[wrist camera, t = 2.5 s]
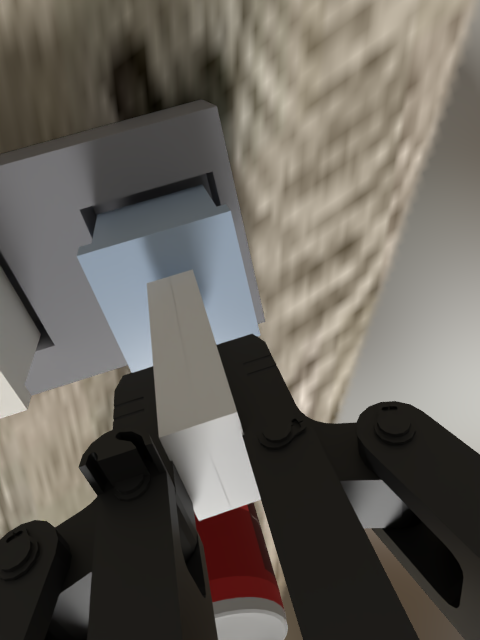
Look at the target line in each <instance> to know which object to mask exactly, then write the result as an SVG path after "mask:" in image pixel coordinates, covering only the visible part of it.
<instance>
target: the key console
mask: <svg viewBox="0 0 480 640" xmlns="http://www.w3.org/2000/svg"><path fill="white" fill-rule="evenodd" d="M201 184H202V185H203V186H204V188H205V189H206V191H207V193H208V194H209V196H210V197H211V199H212V200H213V202H214V204H215V205H216V207H217V206H221V205H224V204H226V205H227V206H228V208H229V209H230V210H231V214H232V218H233V222H234V227H235V231H236V235H237V239H238V243H239V248H240V252H241V256H242V260H243V264H244V269H245V273H246V277H247V281H248V286H249V290H250V294H251V298H252V302H253V307H254V311H255V315H256V319H257V323H258V324H259V323H263V322H265V318H264V314H263V309H262V305H261V300H260V296H259V291H258V287H257V282H256V278H255V274H254V269H253V265H252V260H251V256H250V251H249V247H248V242H247V238H246V234H245V229H244V225H243V220H242V216H241V211H240V207H239V202H238V198H237V193H236V189H235V185H234V180H233V176H232V171H231V167H230V162H229V158H228V153H227V149H226V144H225V140H224V136H223V131H222V127H221V122H220V118H219V113H218V109H217V106H216V105H213V104H211V103H209V102H207V101H204V100H202V99H201V100H197V101H193V102H190V103H186V104H182V105H179V106H175V107H171V108H168V109H164V110H160V111H157V112H153V113H149V114H146V115H142V116H138V117H135V118H131V119H127V120H124V121H120V122H116V123H113V124H109V125H105V126H102V127H98V128H94V129H91V130H87V131H83V132H80V133H76V134H72V135H69V136H65V137H61V138H58V139H54V140H50V141H47V142H43V143H39V144H36V145H32V146H28V147H25V148H21V149H17V150H14V151H10V152H6V153H3V154H0V266H1V267H2V269H3V271H4V273H5V274H6V276H7V278H8V279H9V281H10V283H11V284H12V286H13V288H14V290H15V291H16V293H17V295H18V296H19V298H20V300H21V301H22V303H23V305H24V307H25V308H26V310H27V312H28V313H29V315H30V317H31V318H32V320H33V322H34V323H35V325H36V327H37V329H38V330H39V332H40V334H41V336H40V339H39V342H38V345H37V348H36V351H35V354H34V357H33V360H32V363H31V366H30V369H29V372H28V376H27V379H26V382H25V387H26V388H27V390H28V391H29V393H30V394H31V396H32V395H35V394H38V393H41V392H44V391H47V390H51V389H54V388H57V387H60V386H63V385H66V384H70V383H73V382H76V381H79V380H82V379H85V378H89V377H92V376H95V375H98V374H101V373H104V372H108V371H111V370H114V369H117V368H120V367H123V366H127V365H128V364H127V362H126V360H125V358H124V355H123V353H122V351H121V349H120V347H119V345H118V343H117V341H116V338H115V336H114V334H113V332H112V330H111V328H110V326H109V324H108V322H107V319H106V317H105V315H104V313H103V311H102V309H101V307H100V305H99V303H98V300H97V298H96V296H95V294H94V292H93V290H92V288H91V286H90V283H89V281H88V279H87V277H86V275H85V273H84V271H83V269H82V267H81V264H80V262H79V260H78V258H77V253H78V249H79V247H81V246H84V245H88V244H91V243H92V239H93V234H94V229H95V224H96V219H97V214H101V213H104V212H108V211H111V210H115V209H118V208H122V207H125V206H129V205H132V204H135V203H139V202H142V201H146V200H149V199H153V198H156V197H160V196H163V195H167V194H170V193H174V192H177V191H181V190H184V189H188V188H191V187H194V186H198V185H201Z"/></svg>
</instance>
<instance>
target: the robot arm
mask: <svg viewBox="0 0 480 640" xmlns="http://www.w3.org/2000/svg"><path fill="white" fill-rule="evenodd" d="M147 294H148V307H149V319H150V332H151V345H152V357H153V366H152V367H149V368H146V369H143V370H140V371H136V372H133V373H130V374H127V375H124V376H123V377H122V379H121V380H120V382H119V384H118V386H117V388H116V389H115V394H114V407H115V409H114V416H113V419H114V421H113V430H112V431H109V432H107V433H105V434H103V435H102V436H101V437H99V438H98V439H97V440H96V441H94V442H93V443H92V444H91V445H90V446H89V448H88V449H87V450H86V452H85V453H84V454H83V456H82V459H81V462H80V465H79V469H80V470H81V472H82V473H83V475H84V476H85V478H86V479H87V481H88V482H89V484H90V485H91V487H92V488H93V490H94V491H95V493H96V494H97V498H96V499H95V500H94V501H93V502H92V503H91V504H90V505H88V506H87V507H86V508H84V509H83V510H82V511H80V512H79V513H77V514H76V515H74V516H73V517H71V518H69V519H68V520H66V521H65V522H63V523H62V524H60V525H58V526H57V527H53V526H52V525H51V524H50V523H48V522H47V521H38V520H34V521H31V522H28V523H24V524H21V525H20V526H18V527H16V528H15V529H13V530H12V531H10V532H8V533H7V534H6V535H5V536H4V537H3V538H2V539H1V540H0V640H218V635H217V629H216V623H215V616H214V610H213V603H212V597H211V591H210V584H209V578H208V572H207V565H206V559H205V553H204V546H203V544H202V541H201V539H200V536H199V534H198V532H197V530H196V523H195V516H194V512H195V514H196V516H197V518H198V520H199V521H200V520H203V519H206V518H209V517H212V516H215V515H218V514H220V513H223V512H226V511H229V510H232V509H235V508H238V507H241V506H244V505H247V504H249V503H252V502H255V501H258V500H261V501H262V504H263V507H264V511H265V514H266V517H267V521H268V524H269V527H270V531H271V534H272V537H273V541H274V544H275V547H276V551H277V554H278V557H279V561H280V564H281V567H282V571H283V574H284V577H285V581H286V584H287V587H288V591H289V594H290V597H291V601H292V603H293V607H294V611H295V614H296V617H297V621H298V624H299V627H300V630H301V634H302V637H303V640H419V638H418V636H417V634H416V632H415V630H414V628H413V626H412V624H411V622H410V620H409V618H408V616H407V614H406V612H405V610H404V608H403V606H402V604H401V602H400V600H399V598H398V596H397V594H396V592H395V590H394V588H393V586H392V584H391V582H390V580H389V578H388V576H387V574H386V572H385V571H384V568H383V566H382V564H381V562H380V560H379V558H378V556H377V554H376V552H375V550H374V548H373V546H372V544H371V542H370V540H369V539H368V536H367V534H366V532H365V530H364V528H372V530H373V531H374V532H375V533H376V535H377V536H378V537H379V538H380V539H381V541H382V542H383V543H384V544H385V545H386V546H387V548H388V549H389V550H390V551H391V552H392V554H393V555H394V556H395V557H396V558H397V559H398V561H399V562H400V563H401V564H402V565H403V567H404V568H405V569H406V570H407V571H408V573H409V574H410V575H411V576H412V577H413V578H414V580H415V581H416V582H417V583H418V584H419V586H420V587H421V588H422V589H423V590H424V591H425V593H426V594H427V595H428V596H429V597H430V599H431V600H432V601H433V602H434V603H435V605H436V606H437V607H438V608H439V609H440V611H441V612H442V613H443V614H444V615H445V616H446V618H447V619H448V620H449V621H450V622H451V624H452V625H453V626H454V627H455V628H456V629H457V631H458V632H459V633H460V634H461V635H462V637H463V638H464V639H465V640H480V454H478V453H477V452H476V451H474V450H473V449H471V448H470V447H469V446H468V445H466V444H465V443H464V442H462V441H461V440H460V439H458V438H457V437H456V436H455V435H453V434H452V433H451V432H449V431H448V430H446V429H445V428H444V427H442V426H441V425H440V424H439V423H437V422H436V421H434V420H433V419H432V418H431V417H429V416H428V415H427V414H425V413H424V412H423V411H421V410H419V409H417V408H415V407H414V406H412V405H410V404H405V403H401V402H396V401H392V402H380V403H378V404H375V405H372V406H370V407H368V408H367V409H366V410H365V411H364V412H362V413H361V414H360V416H359V419H358V421H357V423H341V424H331V423H322V422H318V421H315V420H313V419H311V418H308V417H307V416H305V415H304V414H303V413H302V412H301V411H300V410H299V409H298V407H297V406H296V404H295V402H294V400H293V398H292V396H291V394H290V392H289V390H288V388H287V386H286V384H285V382H284V380H283V377H282V375H281V373H280V371H279V369H278V367H277V366H276V363H275V361H274V359H273V357H272V356H271V353H270V351H269V349H268V347H267V345H266V343H265V342H264V341H263V340H261V339H260V338H258V337H257V336H255V335H254V334H249V335H246V336H243V337H240V338H237V339H233V340H230V341H227V342H224V343H221V344H218V345H216V342H215V339H214V336H213V332H212V329H211V326H210V323H209V320H208V316H207V313H206V310H205V307H204V304H203V300H202V297H201V294H200V291H199V288H198V285H197V281H196V278H195V275H194V272H193V269H192V270H189V271H186V272H182V273H179V274H176V275H172V276H169V277H166V278H162V279H159V280H156V281H153V282H149V283H147Z"/></svg>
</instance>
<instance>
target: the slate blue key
mask: <svg viewBox="0 0 480 640" xmlns="http://www.w3.org/2000/svg"><path fill="white" fill-rule="evenodd" d="M77 258H78V260H79V262H80V264H81V267H82V269H83V271H84V273H85V275H86V277H87V279H88V281H89V283H90V286H91V288H92V290H93V292H94V294H95V296H96V298H97V300H98V303H99V305H100V307H101V309H102V311H103V313H104V315H105V317H106V319H107V322H108V324H109V326H110V328H111V330H112V332H113V334H114V336H115V338H116V341H117V343H118V345H119V347H120V349H121V351H122V353H123V355H124V358H125V360H126V362H127V364H128V366H129V368H130V370H131V372H132V373H133V372H136V371H140V370H143V369H146V368H149V367H152V366H153V357H152V345H151V332H150V319H149V307H148V294H147V283H149V282H153V281H156V280H159V279H162V278H166V277H169V276H172V275H176V274H179V273H182V272H186V271H189V270H192V269H193V272H194V275H195V278H196V281H197V285H198V288H199V291H200V294H201V297H202V300H203V304H204V307H205V310H206V313H207V316H208V320H209V323H210V326H211V329H212V332H213V336H214V339H215V342H216V345H218V344H221V343H224V342H227V341H230V340H233V339H237V338H240V337H243V336H246V335H249V334H254V335H255V336H257V337H258V336H260V332H259V328H258V323H257V319H256V315H255V311H254V307H253V302H252V298H251V294H250V290H249V286H248V281H247V277H246V273H245V269H244V264H243V260H242V256H241V252H240V248H239V243H238V239H237V235H236V231H235V227H234V222H233V218H232V214H231V210H230V209H229V208H228V206H227V205H226V204H224V205H221V206H217V207H216V205H215V204H214V202H213V200H212V199H211V197H210V196H209V194H208V193H207V191H206V189H205V188H204V186H203V185H202V184H201V185H198V186H194V187H191V188H188V189H184V190H181V191H177V192H174V193H170V194H167V195H163V196H160V197H156V198H153V199H149V200H146V201H142V202H139V203H135V204H132V205H129V206H125V207H122V208H118V209H115V210H111V211H108V212H104V213H101V214H97V219H96V224H95V229H94V234H93V239H92V243H91V244H88V245H84V246H81V247H79V249H78V253H77Z"/></svg>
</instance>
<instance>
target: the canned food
mask: <svg viewBox="0 0 480 640" xmlns="http://www.w3.org/2000/svg"><path fill="white" fill-rule="evenodd" d="M194 516H195V523H196V530H197V532H198V534H199V536H200V539H201V541H202V544H203V546H204V553H205V559H206V565H207V572H208V578H209V584H210V591H211V597H212V603H213V610H214V616H215V623H216V629H217V635H218V640H284V638H285V636H286V635H287V630H288V626H287V622H286V615H285V610H284V607H283V604H282V600H281V596H280V592H279V588H278V585H277V581H276V578H275V575H274V571H273V568H272V564H271V561H270V558H269V554H268V551H267V547H266V544H265V540H264V537H263V534H262V530H261V527H260V523H259V520H258V517H257V513H256V510H255V506H254V503H253V502H252V503H249V504H247V505H244V506H241V507H238V508H235V509H232V510H229V511H226V512H223V513H220V514H218V515H215V516H212V517H209V518H206V519H203V520H200V521H199V520H198V518H197V516H196V514H195V512H194Z"/></svg>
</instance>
